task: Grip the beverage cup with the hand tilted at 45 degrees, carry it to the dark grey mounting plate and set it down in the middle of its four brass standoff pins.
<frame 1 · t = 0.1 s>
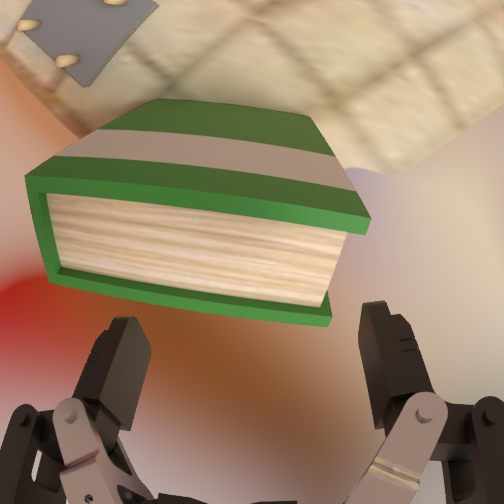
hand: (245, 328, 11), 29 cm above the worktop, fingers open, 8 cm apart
hardback book: (229, 134, 36), on the worktop
chassis: (82, 12, 26), on the worktop
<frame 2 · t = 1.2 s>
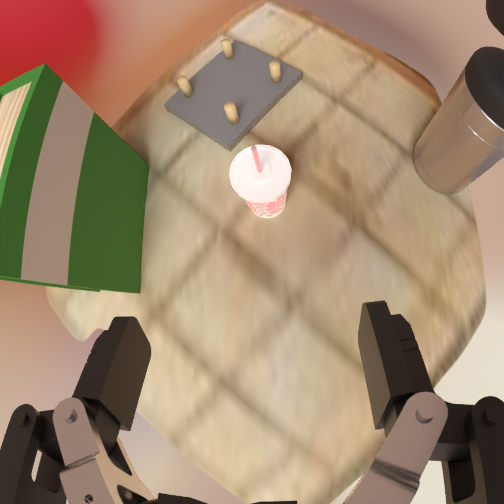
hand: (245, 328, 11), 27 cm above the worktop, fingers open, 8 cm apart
hardback book: (120, 228, 42), on the worktop
beverage cup: (267, 200, 40), on the worktop
chassis: (233, 91, 43), on the worktop
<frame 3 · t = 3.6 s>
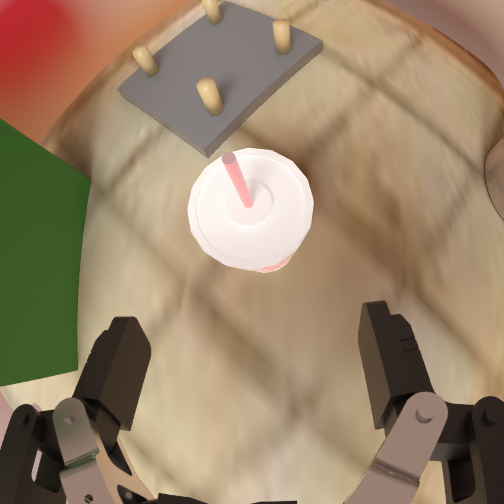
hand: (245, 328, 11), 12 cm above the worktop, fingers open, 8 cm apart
hardback book: (52, 272, 26), on the worktop
beverage cup: (265, 242, 24), on the worktop
chassis: (218, 67, 27), on the worktop
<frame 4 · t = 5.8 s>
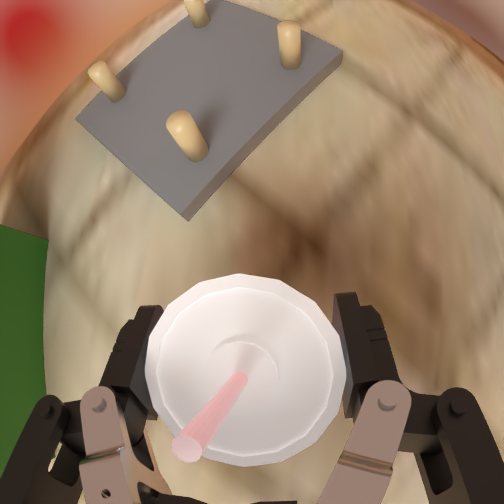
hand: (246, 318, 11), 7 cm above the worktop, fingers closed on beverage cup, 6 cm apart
hardback book: (16, 347, 20), on the worktop
beverage cup: (265, 343, 18), on the worktop, touching gripper
chassis: (204, 87, 21), on the worktop
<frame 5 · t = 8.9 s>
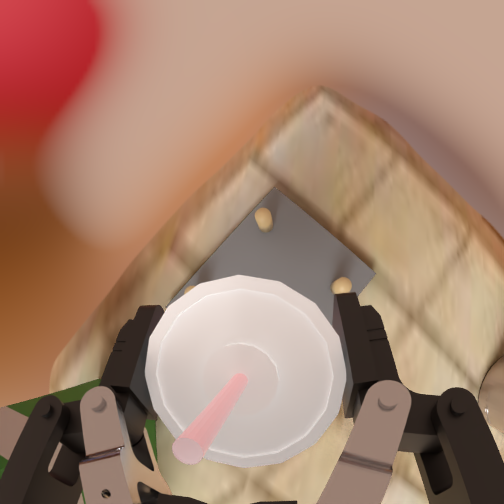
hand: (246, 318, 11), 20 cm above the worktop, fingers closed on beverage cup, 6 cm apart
hardback book: (129, 451, 30), on the worktop
beverage cup: (265, 343, 18), point 13 cm above the worktop, touching gripper
chassis: (270, 292, 31), on the worktop
when the fingers open (10 cm above the worktop, at t = 12.3 s): beverage cup drops 1 cm, resting on chassis.
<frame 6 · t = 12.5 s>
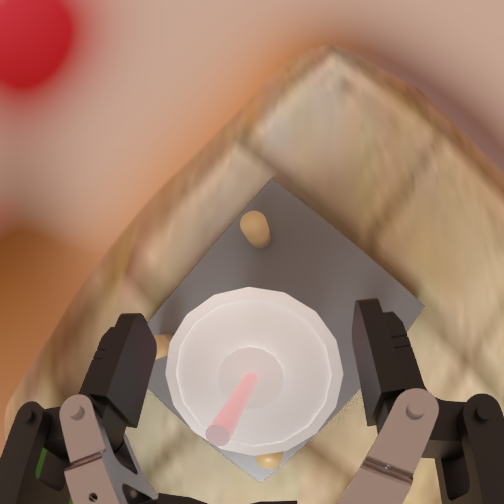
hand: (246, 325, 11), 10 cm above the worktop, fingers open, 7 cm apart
beverage cup: (269, 343, 19), point 1 cm above the worktop, touching chassis
chassis: (269, 338, 20), on the worktop
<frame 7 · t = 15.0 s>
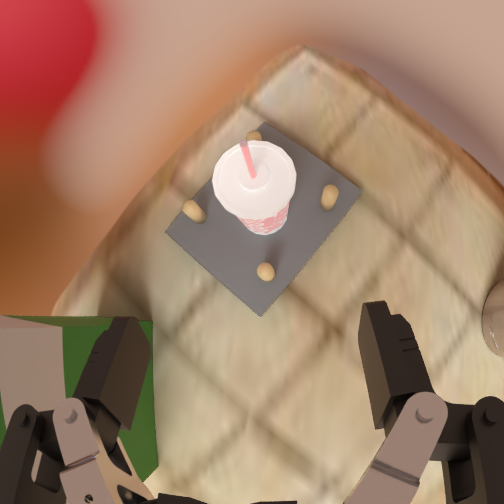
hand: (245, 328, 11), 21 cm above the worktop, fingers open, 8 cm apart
hardback book: (125, 394, 32), on the worktop
beverage cup: (264, 212, 32), point 1 cm above the worktop, touching chassis
chassis: (264, 214, 33), on the worktop
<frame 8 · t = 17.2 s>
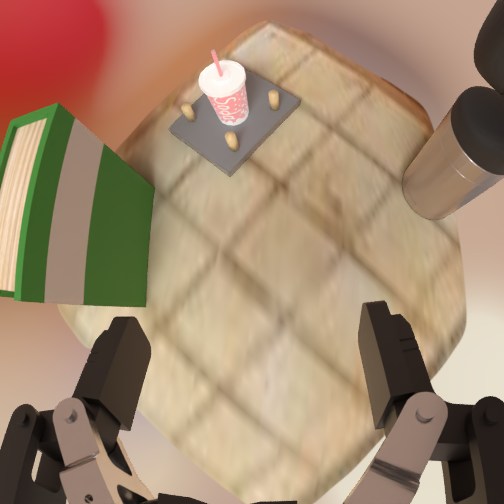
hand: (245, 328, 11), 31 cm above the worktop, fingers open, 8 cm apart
hardback book: (127, 246, 45), on the worktop
beverage cup: (233, 113, 45), point 1 cm above the worktop, touching chassis
chassis: (234, 117, 46), on the worktop
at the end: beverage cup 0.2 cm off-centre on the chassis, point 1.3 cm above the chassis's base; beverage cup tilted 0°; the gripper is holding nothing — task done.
